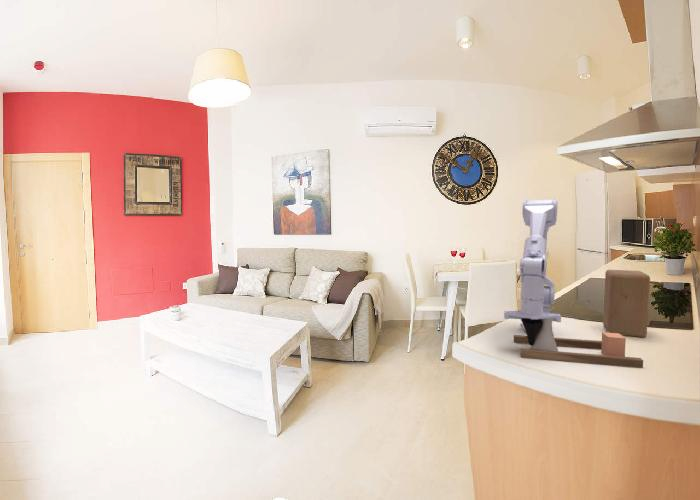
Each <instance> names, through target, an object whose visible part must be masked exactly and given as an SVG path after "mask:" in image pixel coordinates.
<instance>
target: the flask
mask: <svg viewBox="0 0 700 500" xmlns="http://www.w3.org/2000/svg"><path fill="white" fill-rule="evenodd" d="M553 319H554V318H548V319H542V323H543V325H542V327H541V329H540V330H539V332H538V333H537V336H536V338H535V341H534V345H530V349H535V350H547V351H559V349H558V346H556V342H555V339H554V338H555V335H554V331H553V321H552V320H553Z"/></svg>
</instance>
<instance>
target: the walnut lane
mask: <svg viewBox="0 0 700 500" xmlns="http://www.w3.org/2000/svg"><path fill="white" fill-rule="evenodd" d="M554 339H555V342H556V346H557V347H566V348H567V347H568V348H580V349H593V350H601V345H602V340H591V339H581V338H579V339H578V338H564V337H554ZM513 342H514V344H526V345H529V344H528V338H527V335H519V334H514V335H513ZM520 357H521V358H525V359H537V360H548V361H558V362H559V361H560V362H570V363H580V364H581V363H583V364H595V365H596V364H597V365H607V366H615V367H616V366H617V367H630V368H639V369H641V368H644V360H643V359H642V358H641V357H633V356H632V357H631V356H625V357H622V356H610V355H603V354H595V353H585V352H584V353H582V352H572V351H570V352H568V351H559V350H558V351H547V350H535V349H531V348H522V347H521V348H520Z"/></svg>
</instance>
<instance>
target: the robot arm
mask: <svg viewBox="0 0 700 500" xmlns="http://www.w3.org/2000/svg"><path fill="white" fill-rule="evenodd" d="M521 213H522V218H523V222H524V225H525V226H526V227H529V236H528V237H526V239H525V240H524V245H523V246H524V247H523V253H522V255H523V256H522V257H521V258H520V261H519V274H520V275H519V276H520V283H521V287H520V310H504V311H503V319H504V320H510V319H511V320H520V321H521V323H520V326H521V327H522V329H523V330H524V332H525V334H526V336H527V338H528V344H527V345H530V346H531V345H534V341H535V338H536V336H537V333H538V332H539V330H540V329H541V327H542V325H543V323H542V319H548V318H554V319H553V320H552V322H556V323H561V322H562V315H561V314H560V313H553V312H550V306H553V305H554V304H555V296H556V295H555V293H556V289H555V283H554V281H553V280H552V279H551V278H549V277H548V276H547V266H548V265H547V250H548V249H547V243H548V232H549V230H550V228H551V227H553V226H556V223H557V219H558V218H557V217H558V200H557V199H556V198H553V199H538V200H537V199H534V200H528V199H525V200H523V202H522V212H521Z"/></svg>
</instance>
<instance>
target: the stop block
mask: <svg viewBox="0 0 700 500" xmlns="http://www.w3.org/2000/svg"><path fill="white" fill-rule="evenodd" d="M601 341H602V345H601V349H600V352H601V355H610V356H622V357H626V343H627V342H626V337H625V336H624V335H621V334H619V333H609V332H603V331H602V332H601Z"/></svg>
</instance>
